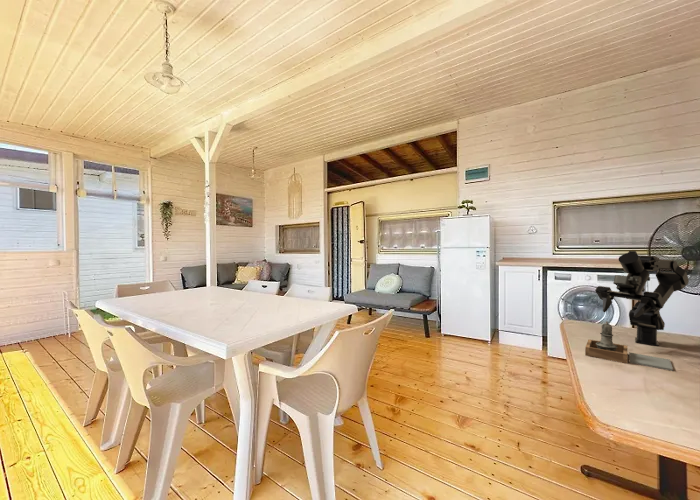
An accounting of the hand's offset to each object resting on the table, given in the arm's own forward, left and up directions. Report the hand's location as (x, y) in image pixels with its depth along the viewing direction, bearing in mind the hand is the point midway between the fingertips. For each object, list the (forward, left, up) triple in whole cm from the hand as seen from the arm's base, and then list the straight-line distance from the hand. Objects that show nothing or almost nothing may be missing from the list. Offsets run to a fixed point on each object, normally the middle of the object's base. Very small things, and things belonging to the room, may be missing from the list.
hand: (618, 314), depth 112 cm
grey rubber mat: (+6, +8, -14) cm, 17 cm away
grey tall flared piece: (+7, -3, -14) cm, 16 cm away
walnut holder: (+7, -3, -14) cm, 16 cm away
